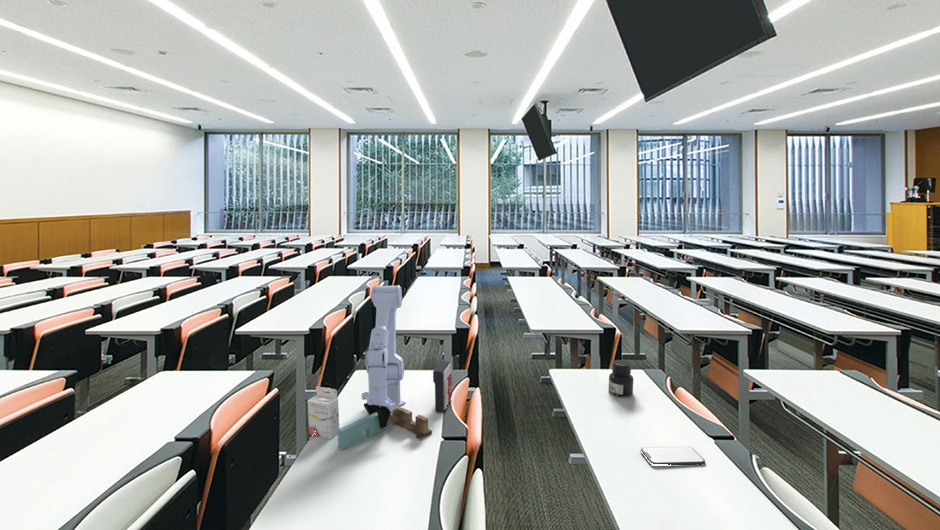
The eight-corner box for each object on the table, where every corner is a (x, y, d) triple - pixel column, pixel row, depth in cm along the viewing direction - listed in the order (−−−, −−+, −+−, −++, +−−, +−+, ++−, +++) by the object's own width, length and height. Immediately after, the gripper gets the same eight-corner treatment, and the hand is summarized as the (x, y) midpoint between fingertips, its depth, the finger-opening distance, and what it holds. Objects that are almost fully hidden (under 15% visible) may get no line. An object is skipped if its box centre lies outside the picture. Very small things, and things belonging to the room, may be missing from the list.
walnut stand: (374, 419, 167) (374, 402, 166) (386, 414, 171) (385, 398, 170) (420, 440, 153) (420, 421, 153) (431, 433, 157) (431, 416, 156)
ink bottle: (603, 389, 192) (604, 359, 190) (624, 386, 194) (625, 357, 192) (616, 399, 183) (618, 368, 181) (637, 396, 185) (639, 366, 183)
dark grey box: (445, 413, 172) (444, 372, 170) (433, 412, 173) (432, 371, 170) (452, 400, 182) (452, 361, 180) (441, 399, 183) (440, 360, 181)
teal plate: (342, 450, 148) (341, 431, 147) (338, 447, 149) (337, 429, 148) (388, 427, 162) (387, 410, 161) (384, 425, 163) (383, 408, 162)
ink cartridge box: (308, 435, 157) (305, 391, 155) (317, 428, 162) (315, 385, 159) (331, 439, 154) (329, 395, 152) (340, 432, 159) (338, 388, 157)
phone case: (690, 450, 148) (638, 452, 147) (691, 445, 147) (639, 447, 146) (706, 467, 139) (651, 468, 138) (707, 462, 139) (652, 463, 138)
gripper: (353, 383, 159) (355, 423, 161) (383, 395, 150) (384, 437, 152) (370, 377, 164) (371, 415, 166) (400, 388, 155) (401, 428, 157)
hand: (379, 425), depth 160 cm, fingers open, 4 cm apart
